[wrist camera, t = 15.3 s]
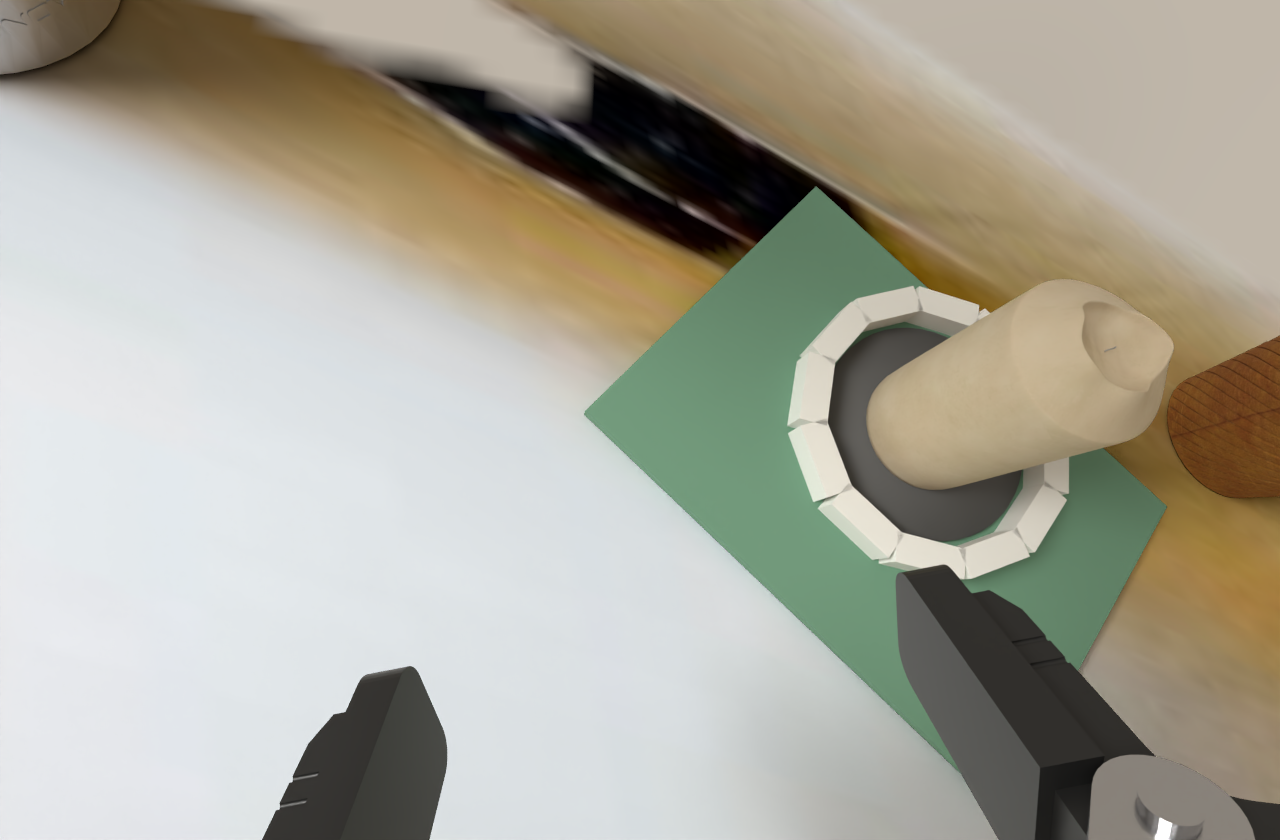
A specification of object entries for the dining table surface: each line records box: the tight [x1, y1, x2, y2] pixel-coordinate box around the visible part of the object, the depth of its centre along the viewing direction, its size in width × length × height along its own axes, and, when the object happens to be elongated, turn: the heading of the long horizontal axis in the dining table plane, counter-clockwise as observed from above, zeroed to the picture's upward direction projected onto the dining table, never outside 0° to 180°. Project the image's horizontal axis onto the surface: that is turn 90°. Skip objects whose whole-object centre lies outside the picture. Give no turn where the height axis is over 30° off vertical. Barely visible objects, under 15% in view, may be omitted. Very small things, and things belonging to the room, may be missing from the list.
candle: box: [866, 279, 1174, 490], centre depth 24 cm, size 6×6×10 cm
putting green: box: [584, 187, 1167, 773], centre depth 28 cm, size 22×16×2 cm
